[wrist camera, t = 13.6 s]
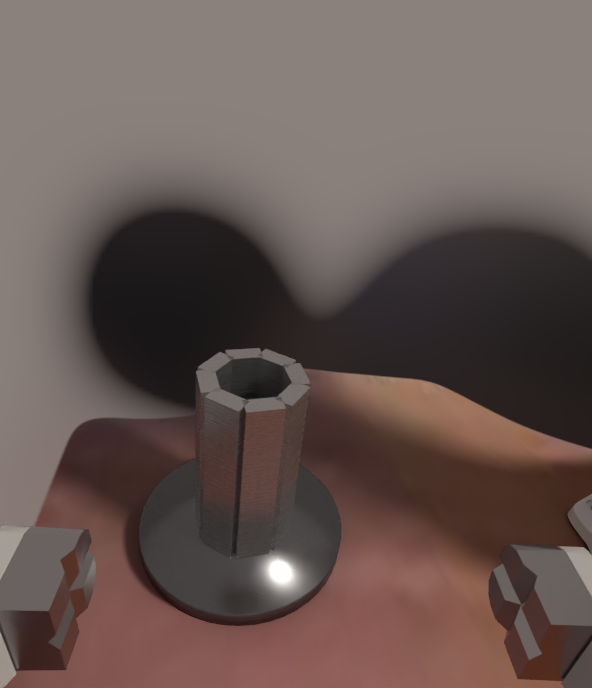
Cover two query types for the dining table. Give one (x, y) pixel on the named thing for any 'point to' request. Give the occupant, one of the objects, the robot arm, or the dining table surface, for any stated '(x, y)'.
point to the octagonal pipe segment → (248, 449)
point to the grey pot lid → (230, 574)
